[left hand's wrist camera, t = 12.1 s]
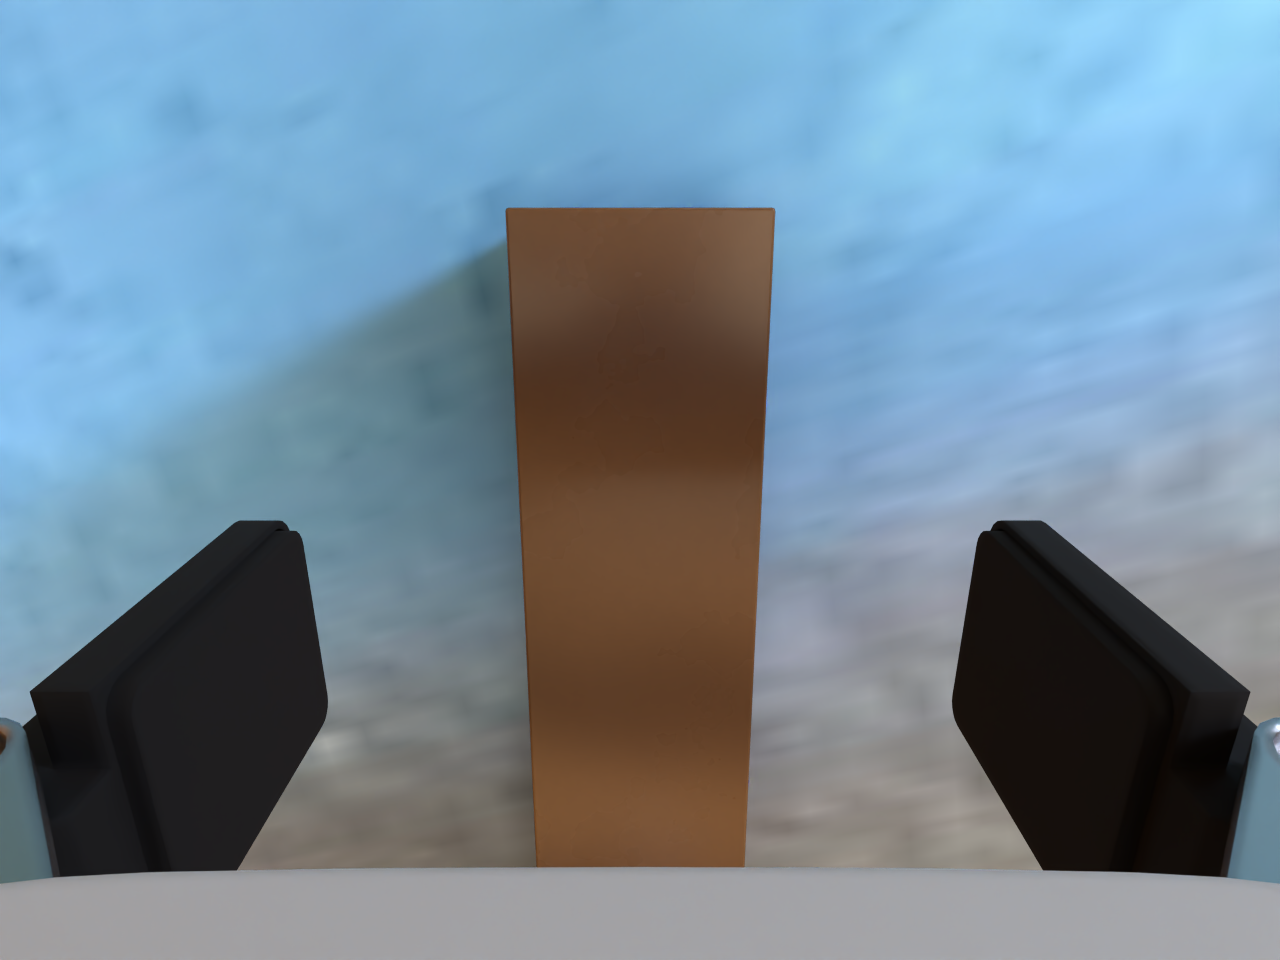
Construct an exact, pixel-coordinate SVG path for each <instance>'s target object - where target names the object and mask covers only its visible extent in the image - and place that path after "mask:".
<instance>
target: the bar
mask: <svg viewBox="0 0 1280 960" xmlns="http://www.w3.org/2000/svg"><path fill="white" fill-rule="evenodd" d="M774 227H775V209H774V208H507V209H506V232H507V253H508V274H509V295H510V317H511V338H512V359H513V380H514V401H515V422H516V444H517V465H518V486H519V507H520V528H521V549H522V571H523V592H524V613H525V634H526V655H527V676H528V698H529V719H530V740H531V761H532V782H533V803H534V825H535V846H536V867H744V864H745V843H746V821H747V800H748V779H749V758H750V736H751V715H752V694H753V673H754V651H755V630H756V609H757V588H758V566H759V545H760V524H761V503H762V482H763V460H764V439H765V418H766V397H767V375H768V354H769V333H770V312H771V290H772V269H773V248H774Z"/></svg>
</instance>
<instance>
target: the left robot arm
mask: <svg viewBox="0 0 1280 960" xmlns="http://www.w3.org/2000/svg"><path fill="white" fill-rule="evenodd" d="M30 695H31V698H32V701H33V704H34V707H35V711H36V714H37V715H35V716H34V717H33V718H32V719H31V720H30V721H29V722H27V723H26V724H25V725H24V726H23V727H22V726H21V724H20V723H18V722H15V721H13V720H10V719H7V718H0V960H1280V718H1273V719H1270V720H1267V721H1265V722H1262V723H1260V724H1259V726H1258V727H1257V726H1256V725H1255V724H1254V723H1253V722H1251V721H1250V720H1249V719H1248V718H1247V717H1246V716H1245V715H1243V714H1244V711H1245V707H1246V704H1247V701H1248V698H1249V695H1250V691H1249V690H1248V689H1246V688H1245V687H1244V686H1243V685H1242V684H1240V683H1239V682H1238V681H1237V680H1235V679H1234V678H1233V677H1232V676H1231V675H1229V674H1228V673H1227V672H1226V671H1225V670H1223V669H1222V668H1221V667H1220V666H1218V665H1217V664H1216V663H1215V662H1214V661H1212V660H1211V659H1210V658H1209V657H1208V656H1206V655H1205V654H1204V653H1203V652H1201V651H1200V650H1199V649H1198V648H1197V647H1195V646H1194V645H1193V644H1192V643H1191V642H1189V641H1188V640H1187V639H1186V638H1184V637H1183V636H1182V635H1181V634H1180V633H1178V632H1177V631H1176V630H1175V629H1174V628H1172V627H1171V626H1170V625H1169V624H1167V623H1166V622H1165V621H1164V620H1163V619H1161V618H1160V617H1159V616H1158V615H1157V614H1155V613H1154V612H1153V611H1152V610H1150V609H1149V608H1148V607H1147V606H1146V605H1144V604H1143V603H1142V602H1141V601H1140V600H1138V599H1137V598H1136V597H1135V596H1133V595H1132V594H1131V593H1130V592H1129V591H1127V590H1126V589H1125V588H1124V587H1123V586H1121V585H1120V584H1119V583H1118V582H1116V581H1115V580H1114V579H1113V578H1112V577H1110V576H1109V575H1108V574H1107V573H1106V572H1104V571H1103V570H1102V569H1101V568H1099V567H1098V566H1097V565H1096V564H1095V563H1093V562H1092V561H1091V560H1090V559H1089V558H1087V557H1086V556H1085V555H1084V554H1082V553H1081V552H1080V551H1079V550H1078V549H1076V548H1075V547H1074V546H1073V545H1072V544H1070V543H1069V542H1068V541H1067V540H1065V539H1064V538H1063V537H1062V536H1061V535H1059V534H1058V533H1057V532H1056V531H1055V530H1053V529H1052V528H1051V527H1050V526H1049V525H1047V524H1046V523H1044V522H1042V521H997V522H996V523H995V524H994V525H993V527H992V529H991V531H983V532H982V533H981V534H980V536H979V538H978V542H977V546H976V552H975V559H974V565H973V571H972V577H971V584H970V590H969V596H968V602H967V608H966V615H965V621H964V627H963V633H962V640H961V646H960V652H959V658H958V665H957V671H956V677H955V683H954V689H953V696H952V708H953V714H954V718H955V721H956V723H957V726H958V727H959V729H960V731H961V732H962V734H963V736H964V737H965V739H966V741H967V743H968V744H969V746H970V748H971V749H972V751H973V753H974V754H975V756H976V758H977V759H978V761H979V763H980V764H981V766H982V768H983V770H984V771H985V773H986V775H987V776H988V778H989V780H990V781H991V783H992V785H993V786H994V788H995V790H996V792H997V793H998V795H999V797H1000V798H1001V800H1002V802H1003V803H1004V805H1005V807H1006V808H1007V810H1008V812H1009V814H1010V815H1011V817H1012V819H1013V820H1014V822H1015V824H1016V825H1017V827H1018V829H1019V830H1020V832H1021V834H1022V835H1023V837H1024V839H1025V841H1026V842H1027V844H1028V846H1029V847H1030V849H1031V851H1032V852H1033V854H1034V856H1035V857H1036V859H1037V861H1038V863H1039V864H1040V866H1041V868H1042V869H1043V871H1038V870H985V869H931V868H752V867H529V868H349V869H295V870H242V871H237V869H238V868H239V866H240V864H241V863H242V861H243V859H244V857H245V856H246V854H247V852H248V851H249V849H250V847H251V846H252V844H253V842H254V841H255V839H256V837H257V835H258V834H259V832H260V830H261V829H262V827H263V825H264V824H265V822H266V820H267V819H268V817H269V815H270V814H271V812H272V810H273V808H274V807H275V805H276V803H277V802H278V800H279V798H280V797H281V795H282V793H283V792H284V790H285V788H286V786H287V785H288V783H289V781H290V780H291V778H292V776H293V775H294V773H295V771H296V770H297V768H298V766H299V764H300V763H301V761H302V759H303V758H304V756H305V754H306V753H307V751H308V749H309V748H310V746H311V744H312V743H313V741H314V739H315V737H316V736H317V734H318V732H319V731H320V729H321V727H322V726H323V723H324V721H325V718H326V714H327V708H328V696H327V689H326V683H325V677H324V671H323V665H322V658H321V652H320V646H319V640H318V633H317V627H316V621H315V615H314V608H313V602H312V596H311V590H310V584H309V577H308V571H307V565H306V559H305V552H304V546H303V542H302V538H301V536H300V534H299V533H298V532H297V531H289V529H288V527H287V525H286V524H285V523H284V522H283V521H238V522H236V523H234V524H233V525H231V526H230V527H229V528H228V529H227V530H225V531H224V532H223V533H222V534H221V535H219V536H218V537H217V538H216V539H215V540H213V541H212V542H211V543H210V544H208V545H207V546H206V547H205V548H204V549H202V550H201V551H200V552H199V553H198V554H196V555H195V556H194V557H193V558H191V559H190V560H189V561H188V562H187V563H185V564H184V565H183V566H182V567H181V568H179V569H178V570H177V571H176V572H174V573H173V574H172V575H171V576H170V577H168V578H167V579H166V580H165V581H164V582H162V583H161V584H160V585H159V586H157V587H156V588H155V589H154V590H153V591H151V592H150V593H149V594H148V595H147V596H145V597H144V598H143V599H142V600H140V601H139V602H138V603H137V604H136V605H134V606H133V607H132V608H131V609H130V610H128V611H127V612H126V613H125V614H123V615H122V616H121V617H120V618H119V619H117V620H116V621H115V622H114V623H113V624H111V625H110V626H109V627H108V628H106V629H105V630H104V631H103V632H102V633H100V634H99V635H98V636H97V637H96V638H94V639H93V640H92V641H91V642H89V643H88V644H87V645H86V646H85V647H83V648H82V649H81V650H80V651H79V652H77V653H76V654H75V655H74V656H72V657H71V658H70V659H69V660H68V661H66V662H65V663H64V664H63V665H62V666H60V667H59V668H58V669H57V670H55V671H54V672H53V673H52V674H51V675H49V676H48V677H47V678H46V679H45V680H43V681H42V682H41V683H40V684H38V685H37V686H36V687H35V688H34V689H32V690H31V691H30Z"/></svg>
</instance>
